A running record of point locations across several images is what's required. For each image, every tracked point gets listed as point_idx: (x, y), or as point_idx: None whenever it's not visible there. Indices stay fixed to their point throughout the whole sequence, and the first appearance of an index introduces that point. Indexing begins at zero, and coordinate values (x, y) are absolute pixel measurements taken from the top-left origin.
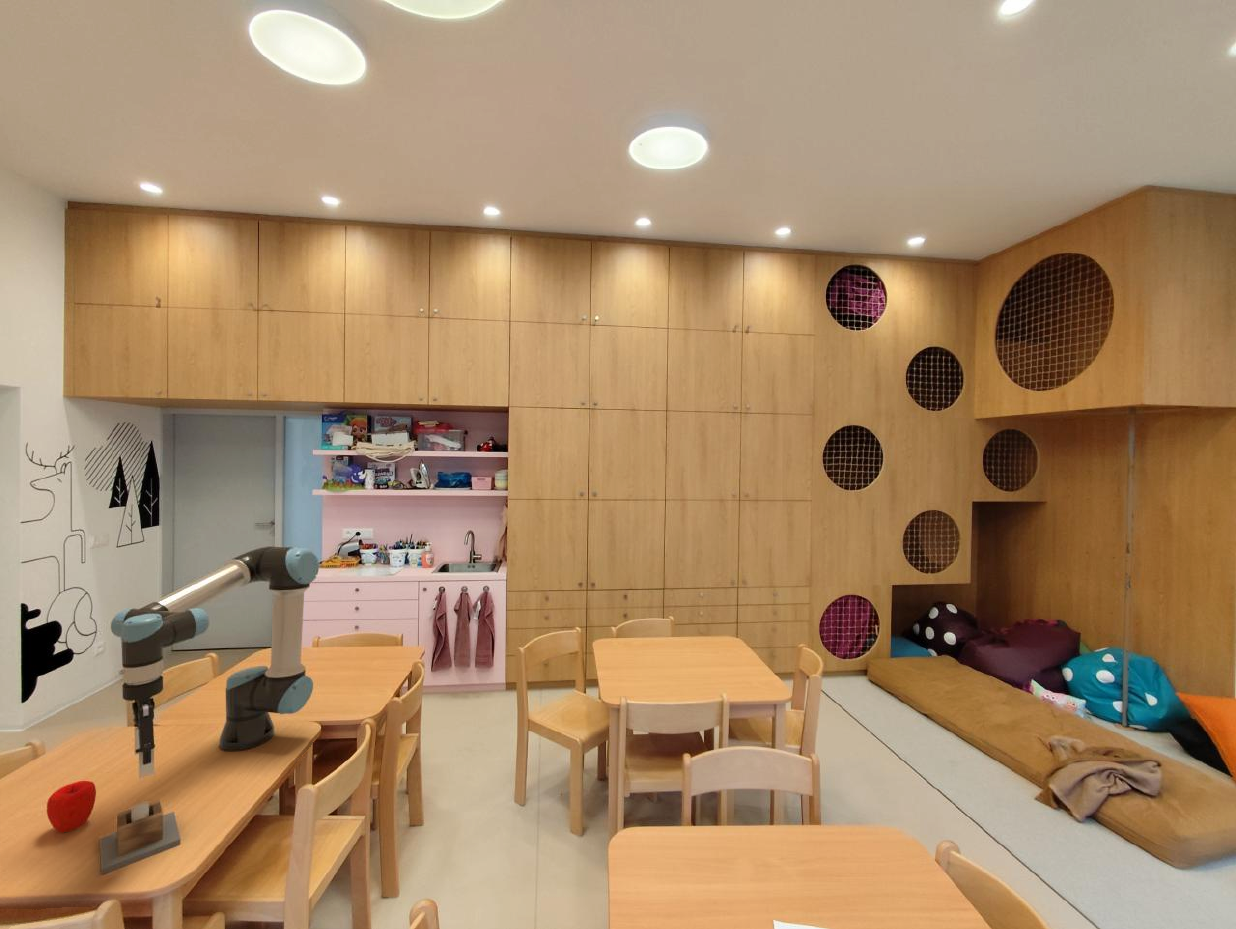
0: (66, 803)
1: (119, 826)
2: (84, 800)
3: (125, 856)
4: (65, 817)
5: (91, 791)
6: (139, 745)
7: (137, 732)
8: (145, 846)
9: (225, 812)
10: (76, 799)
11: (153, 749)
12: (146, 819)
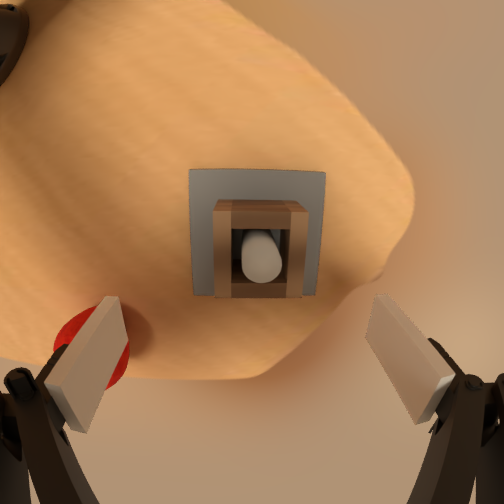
0: (119, 371)
1: (284, 295)
2: None
3: (305, 262)
4: (128, 353)
5: None
6: (112, 351)
7: (88, 409)
8: None
9: (265, 78)
10: None
11: (447, 366)
12: (301, 246)
